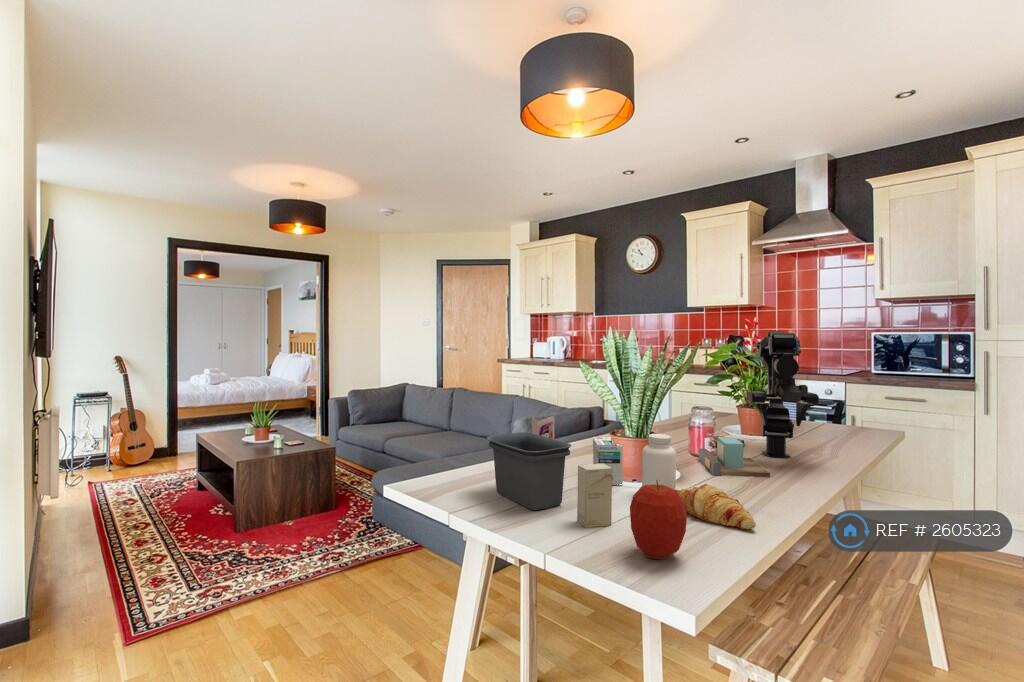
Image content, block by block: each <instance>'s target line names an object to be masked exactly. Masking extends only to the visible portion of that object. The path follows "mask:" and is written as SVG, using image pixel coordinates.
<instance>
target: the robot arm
mask: <svg viewBox="0 0 1024 682" xmlns="http://www.w3.org/2000/svg"><path fill="white" fill-rule="evenodd" d="M801 347H802V346H801V341H800V340H799V336H796V334H795V332H784V331H782V330H768V331H766V336H765V337H764V338H763V339H762V340H761V341H760V342H759V347H758V348H759V351H758V352H759V354H758V356H759V358H761V364H762V366H764V368H765V369H766V375H767V377H766V378H767V393H766V392H763V391H761V390H760V391H757V390H755V391H754V390H753V391H751V390H750V391H748V392H747V393H746V400H747V401H749V402H751V404H753V405H755V406H756V408H757V410H758V413H759V415H760V417H761V429H760V430H761V433H760V434H761V436H762V437H765V439H766V440H765V441H766V442H765V444H766V445H765V448H766V449H765V450H762V451H761V452H762V454H764V455H766V456H768V457H770V458H771V457H772V458H777V457H778V458H791V456H790V454H788V453H786V452H787V439H792V438H794V427H795V424H794V422H793V420H792V419H791V418H790V417H791V416H790V411H789V408H787V407H785V406H784V403H785V402H786V403H787V402H795V403H796V404H795V405H796V406H795V409H796V410H795V418H796V419H795V423H796V427H800V426H801V423H802V421H803V420H804V416H805V415H806V413H807V412H808V410H809V409H810V408H811V407H814V406H815V405H816V404H817V405H818V404H819V405H820V396H819V395H818V394H817V393H815V392H809V387H808V386H807V385H806V384H799V385H797V384H796V379H795V378H794V376H795V375H796V374H797V373H798V372H799V370H800V365H799V362H798V361H797V360H796V359H795V358H794V357H798V356H799V357H800V354H801V353H802V348H801ZM767 401H768V403H766V402H767Z"/></svg>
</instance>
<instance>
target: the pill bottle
mask: <svg viewBox="0 0 1024 682" xmlns="http://www.w3.org/2000/svg"><path fill="white" fill-rule="evenodd" d="M671 443H672V437H671V435H669V434H664V433H651V434H650V433H649V435H648V444H647V445H645V446H644V447H643V449H642V463H641V464H642V465H641V467H642V468H641V487H642V486H645V485H657V482H656V480H657V481H658V485H664V486H667V487H669V488H672V489H674V490H676V483H677V482H676V478H677V477H676V473H677V452H676V450H675V448H674V447H672V446H671Z"/></svg>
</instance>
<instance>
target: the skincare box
mask: <svg viewBox="0 0 1024 682" xmlns="http://www.w3.org/2000/svg"><path fill="white" fill-rule="evenodd" d="M612 490H613V485H612V468H611V467H609V466H607V465H606V464H604V463H600V464H593V463H588V464H578V465H577V504H576V505H577V510H576V511H577V513H576V514H577V516H576V518H577V519H576V520H577V522H578V523H579V524H580V525H581V526H583V527H584V528H587V529H588V528H598V527H609V526H612V512H613V511H612V509H613V508H612V506H613V505H612V501H613V498H612V497H613V492H612Z"/></svg>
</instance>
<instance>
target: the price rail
mask: <svg viewBox="0 0 1024 682" xmlns="http://www.w3.org/2000/svg"><path fill="white" fill-rule="evenodd" d="M715 457H716V456H714V455H713V454H712V453H711V452H710V451H709V450H708V449H707V448H703V447H702V448H699V449H698V460H699V461H700V462H701V463H702V464H703V466H704V467H705V468H706V469H707V470H708V471H709V473H711V475H712V474H713V475H718V477H721V476H722V475H721V463H720V462H719V461H718V460H717V459H716V458H715ZM713 475H712V476H713Z"/></svg>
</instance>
